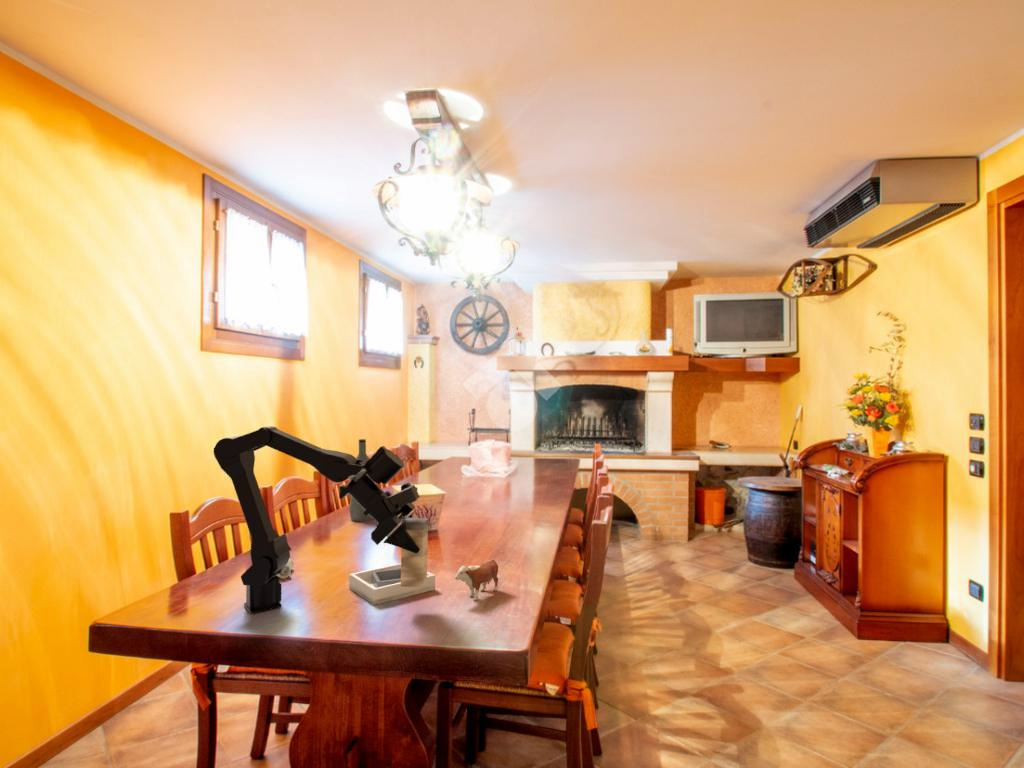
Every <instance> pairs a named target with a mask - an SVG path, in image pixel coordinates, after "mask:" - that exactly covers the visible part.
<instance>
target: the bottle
mask: <svg viewBox="0 0 1024 768" xmlns="http://www.w3.org/2000/svg"><path fill="white" fill-rule="evenodd" d="M366 443H367V439H365V438H364V439H363V438H362V439H360V438H359V439H358V454H357V456H356V457H355V458H356V459H358V460H365V461H368V460H369V459H370V458H369V456H368V454H367V444H366ZM365 472H366V470H365V471H363V472H361V473H358V474H356V475H354V476H353V477H351V478H349V482H350V481H351V480H352V479H353V478H354V477H358V478H360V477H361V476H362V475H363V474H364V473H365ZM368 476H369V475H368ZM364 512H365V510H364V509H363V507H361V506H360V505H359V504H358V503H357V502H356V501H355V500H354V499H353V498H352V497H351V496H350V502H349V517H350V520H351V521H352V522H367V521H371V520H374V519H373V518H372V517H371V516H370V515H367V516H366V515H365V514H364Z"/></svg>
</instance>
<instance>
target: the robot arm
mask: <svg viewBox="0 0 1024 768" xmlns="http://www.w3.org/2000/svg"><path fill="white" fill-rule="evenodd" d="M265 447H269V448H271V449H273V450H276V451H277V452H281V453H283V454H285V455H288V456H289V457H292V458H294V459H296V460H299V461H301V462H303V463H305V464H307V465H310V466H312V467H313V468H315V470H316V471H317V472H318V473H319V474H321V475H322V476H323V477H325V478H327V479H328V480H330V481H331V482H333V483H342V482H344V481H347V480H349V482H348V483H347V484H342V485H340V486H339V487H338V488H339V496H338V497H339V499H340V500H343V499H344V498H346V497H348V495H349V496H350V498H351V497H352V498H353V499H354V500H355V501H356V502H357V503H358V504H359V505H360V506H361V507H363V509H364V510H365V512H364V514H365V515H366V516H367V515H370V516H371V517H372V518H373V519H372V520H374V522H376V524H377V525H376V527H375V529H374V530H372V532H371V534H370V536H371V537H370V538H371V539H370V540H371V541H372V542H373V543H375V545H377V546H378V545H379V544H380V543H383V544H387V545H392V546H395V547H398V548H400V549H401V548H403V549H406V550H408V551H411V552H414V553H418V552H419V551H420V549H419V547H418V546H417V544H416V543H415V542H414V540H413V539H412V538H411V536H410V535H409V534H408V532H407V531H406V521H404V522H403V523H401V522H402V521H403V520H405V519H406V518H415V516H414V515H415V511H413V510H415V508H416V506H415V505H414V504H413V503H414V502H416V501H417V500H418V499H419V498H420V494H419V492H418V489H419V488H418V487H416V486H415V484H411V483H410V482H405V483H403V484H402V485H401V486H400V490H399V491H397V492H395V493H394V494H393V493H391V492H390V490H387V491H384V490H383V489H382V488H381V487H380V486H379V485H381V484H383V485H387V484H388V483H389V482H390V481H391V480H393V478H394V477H395V476H396V475H397V474H398V473H399V472H400V471H401V470H402V469H403V468H404V467H405V463H404V461H403V460H402V459H401V458H400V456H399V455H398V454H397V453H394V452H393V451H391V450H389V449H387V448H386V447H385V445H383V446H380V447H379V448H378V449H377V450H376V451H375V453H374V454H373V455H372V456H371V457H370V458H369V460H368V461H365V460H358V459H356V457H355V456H354V455H352V454H350V453H346V452H343V451H339V450H333V449H332V450H330V449H325V448H321V446H320V447H319V446H317V445H314V444H312V443H310V442H308V441H306V440H304V439H301V438H300V437H297V436H294V435H292V434H290V433H287V432H285V431H283V430H280V429H279V428H277V427H276V426H273V425H271V426H263V427H260V428H258V429H256V430H255V431H252V432H248V433H246V434H243V435H237V436H231V437H224V438H221V439H220V440H218V441H217V442H216V443H215V446H214V447H213V455H214V458H215V460H216V461H217V464H218V466H219V467H220V469H221V470H222V472H224V473H225V474H226V475H227V476H228V477H229V479H230V480H231V482H232V484H233V489H234V491H235V494H236V496H237V498H238V501H239V505H240V508H241V511H242V515H243V516H244V520H245V523H246V526H247V529H248V532H249V534H250V537H251V538H250V540H251V543H250V550H249V551H250V553H249V555H250V560H251V565H250V567H248V569H246V570H245V571H244V572H243V573H242V575H240V579H241V583H242V585H243V586H245V588H246V590H245V594H246V595H245V596H246V597H245V599H246V600H245V602H244V604H243V606H244V607H245V608H246V609H247V610H248V612H249V613H250V614H256V613H261V612H265V611H268V610H273V609H277V608H281V607H282V603H281V602H282V583H281V582H280V577H278V576H277V575H278V574H280V573H281V571H282V568H283V567H284V566H285V565H286V564H287V563H288V561H289V559H291V554H290V552H291V551H292V548H291V546H290V545H289V543H288V538H287V537H288V536H287V535H286V534H285V533H283V534H282V535H279V534H278V533H277V532H276V531H275V529H274V527H273V525H272V521H271V519H270V516H269V513H268V510H267V507H266V503H265V501H264V498H263V496H262V493H261V489H260V486H259V484H258V481H257V477H256V476H255V472H254V470H255V460H256V456H255V455H256V454H255V451H258V450H260V449H263V448H265ZM365 470H366V472H365V473H364V474H363V475H362V476H361V477H360V478H358V477H354V478H353V479H352V480H351V481H350V478H351V477H353V476H354V475H356V474H358V473H361V472H363V471H365ZM368 475H369V476H368ZM411 512H412V513H411ZM384 539H385V540H384ZM382 541H383V542H382Z"/></svg>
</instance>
